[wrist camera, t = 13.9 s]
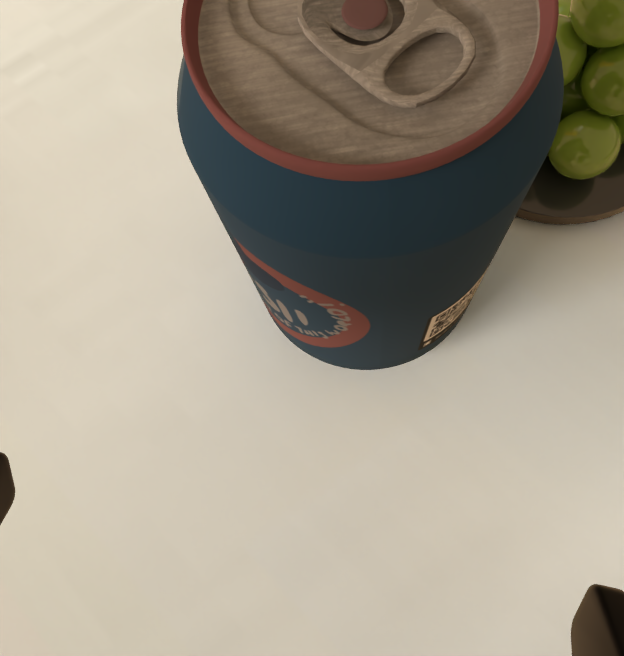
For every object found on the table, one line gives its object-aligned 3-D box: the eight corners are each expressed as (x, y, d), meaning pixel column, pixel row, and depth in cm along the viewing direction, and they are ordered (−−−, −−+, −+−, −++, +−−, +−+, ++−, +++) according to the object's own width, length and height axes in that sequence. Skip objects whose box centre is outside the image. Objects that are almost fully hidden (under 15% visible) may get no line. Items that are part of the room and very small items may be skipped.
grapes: (538, 270, 20) (637, 140, 13) (392, 99, 22) (404, -95, 15) (732, 138, 21) (931, -57, 13) (570, -14, 23) (665, -252, 16)
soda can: (225, 274, 21) (55, 7, 10) (370, 152, 22) (375, -231, 10) (359, 422, 19) (349, 310, 8) (512, 282, 20) (708, -6, 9)
